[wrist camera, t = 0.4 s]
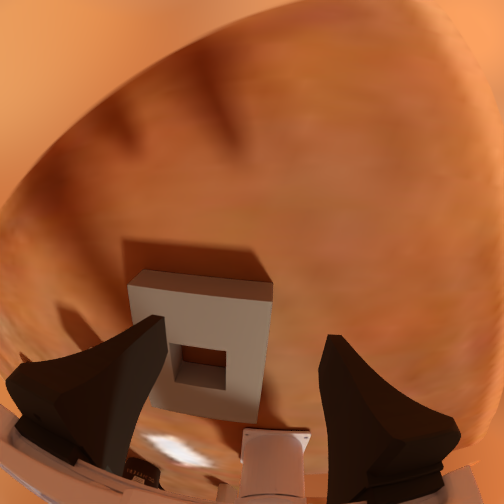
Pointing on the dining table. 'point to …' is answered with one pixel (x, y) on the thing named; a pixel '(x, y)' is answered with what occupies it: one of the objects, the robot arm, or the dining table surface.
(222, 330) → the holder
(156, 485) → the coffee mug
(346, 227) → the dining table surface
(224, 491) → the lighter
